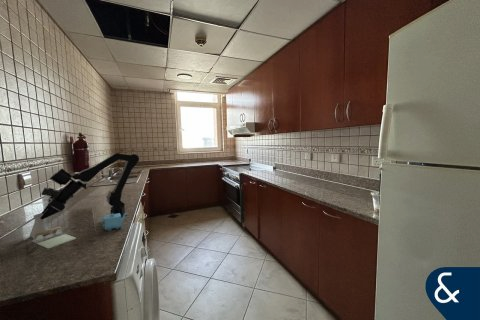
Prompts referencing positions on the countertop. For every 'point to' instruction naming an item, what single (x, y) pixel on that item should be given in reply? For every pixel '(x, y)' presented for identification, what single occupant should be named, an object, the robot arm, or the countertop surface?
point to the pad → (56, 241)
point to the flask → (38, 225)
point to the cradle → (41, 238)
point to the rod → (47, 231)
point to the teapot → (112, 221)
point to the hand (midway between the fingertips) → (41, 216)
